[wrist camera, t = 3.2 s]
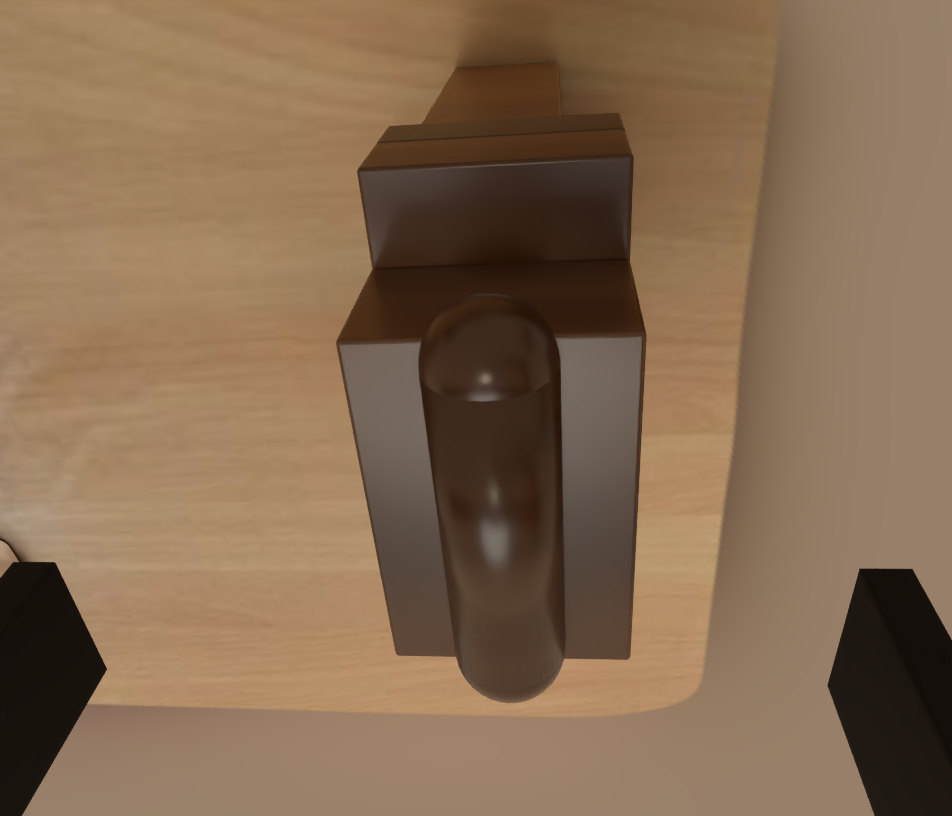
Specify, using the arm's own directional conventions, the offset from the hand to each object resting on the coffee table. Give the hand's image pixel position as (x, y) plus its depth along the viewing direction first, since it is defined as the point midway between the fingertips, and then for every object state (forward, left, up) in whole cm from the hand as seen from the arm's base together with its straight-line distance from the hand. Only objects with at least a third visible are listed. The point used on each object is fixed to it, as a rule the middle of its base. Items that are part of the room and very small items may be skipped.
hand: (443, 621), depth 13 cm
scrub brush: (-1, 0, -9) cm, 9 cm away
